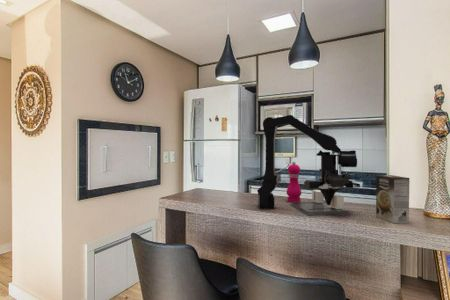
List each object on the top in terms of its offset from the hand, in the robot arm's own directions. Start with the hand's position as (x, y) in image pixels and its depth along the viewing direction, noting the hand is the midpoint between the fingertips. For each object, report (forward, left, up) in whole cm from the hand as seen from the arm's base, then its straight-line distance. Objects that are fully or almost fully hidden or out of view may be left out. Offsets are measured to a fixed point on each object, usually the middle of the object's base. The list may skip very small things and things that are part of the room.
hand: (328, 204), depth 103 cm
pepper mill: (-6, +23, -3) cm, 24 cm away
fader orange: (+4, 0, -1) cm, 4 cm away
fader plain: (+2, +12, -1) cm, 12 cm away
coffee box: (+17, -13, -3) cm, 22 cm away
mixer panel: (-2, +6, -3) cm, 7 cm away
